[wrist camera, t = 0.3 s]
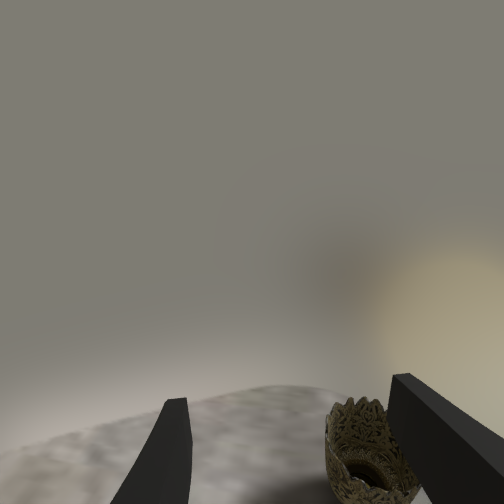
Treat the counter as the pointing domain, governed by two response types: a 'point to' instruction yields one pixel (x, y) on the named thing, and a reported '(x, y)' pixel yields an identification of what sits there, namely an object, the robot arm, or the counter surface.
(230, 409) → the counter surface
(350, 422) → the cup
